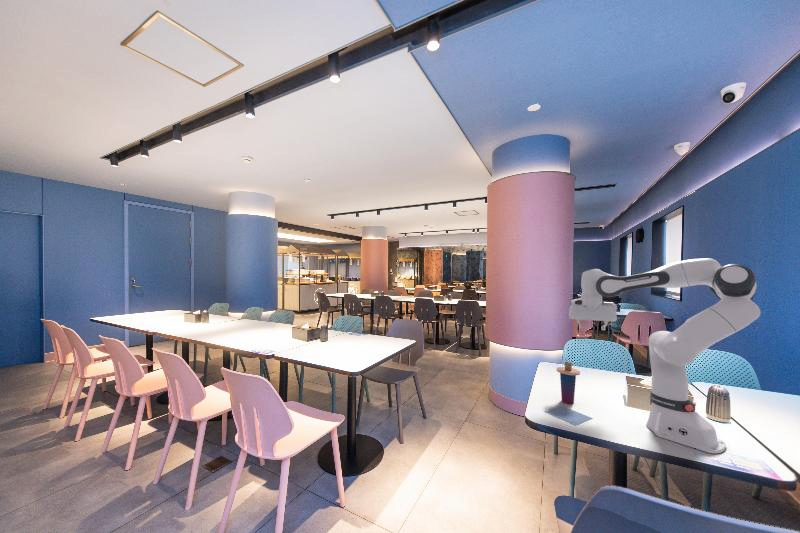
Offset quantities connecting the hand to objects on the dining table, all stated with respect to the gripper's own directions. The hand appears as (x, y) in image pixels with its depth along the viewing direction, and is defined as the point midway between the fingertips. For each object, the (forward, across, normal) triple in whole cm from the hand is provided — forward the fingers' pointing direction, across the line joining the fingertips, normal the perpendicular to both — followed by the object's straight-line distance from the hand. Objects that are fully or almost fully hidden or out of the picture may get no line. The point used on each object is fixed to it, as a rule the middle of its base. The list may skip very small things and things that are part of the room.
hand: (592, 329), depth 151 cm
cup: (+35, +12, +10) cm, 38 cm away
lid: (+20, +11, +10) cm, 25 cm away
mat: (+35, +12, +25) cm, 45 cm away
